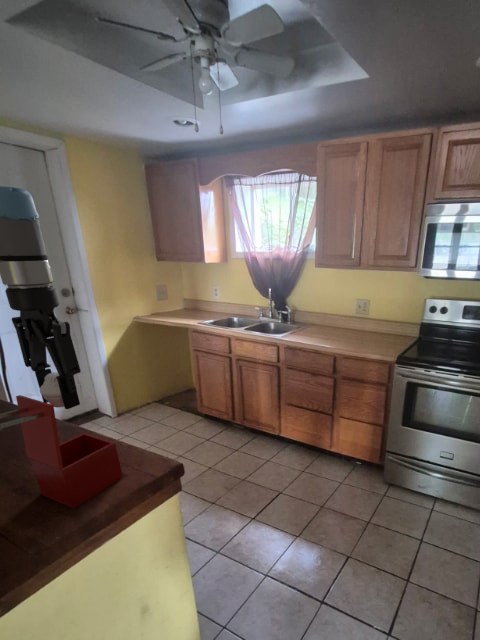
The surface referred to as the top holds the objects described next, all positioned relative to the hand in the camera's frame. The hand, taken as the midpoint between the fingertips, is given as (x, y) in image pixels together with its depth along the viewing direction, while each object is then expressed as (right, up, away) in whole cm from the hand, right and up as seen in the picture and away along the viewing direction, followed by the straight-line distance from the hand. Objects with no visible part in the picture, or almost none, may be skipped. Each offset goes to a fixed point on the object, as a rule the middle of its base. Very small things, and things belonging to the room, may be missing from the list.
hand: (61, 403), depth 75 cm
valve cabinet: (0, -19, +8) cm, 21 cm away
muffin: (0, 0, 0) cm, 1 cm away
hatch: (-2, -6, -3) cm, 7 cm away
